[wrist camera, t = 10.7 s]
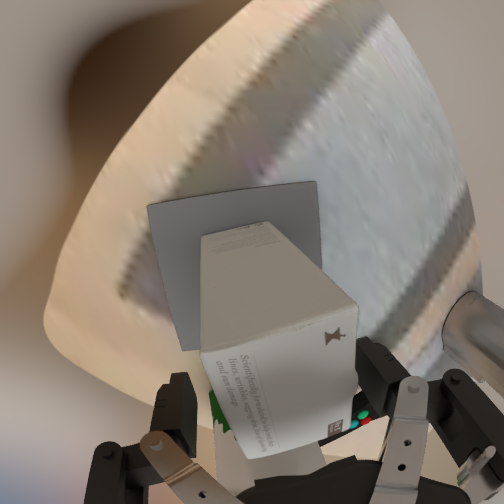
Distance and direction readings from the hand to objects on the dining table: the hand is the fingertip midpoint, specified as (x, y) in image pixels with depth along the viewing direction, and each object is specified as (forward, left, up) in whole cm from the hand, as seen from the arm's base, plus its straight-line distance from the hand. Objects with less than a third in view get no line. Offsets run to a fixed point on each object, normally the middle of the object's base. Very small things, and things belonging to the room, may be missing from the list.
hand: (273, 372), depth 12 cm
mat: (0, 0, -13) cm, 13 cm away
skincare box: (0, 0, -12) cm, 12 cm away
